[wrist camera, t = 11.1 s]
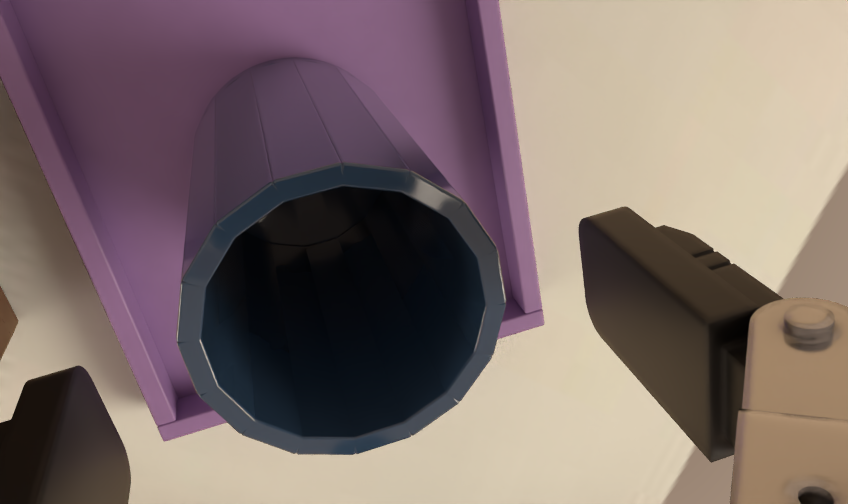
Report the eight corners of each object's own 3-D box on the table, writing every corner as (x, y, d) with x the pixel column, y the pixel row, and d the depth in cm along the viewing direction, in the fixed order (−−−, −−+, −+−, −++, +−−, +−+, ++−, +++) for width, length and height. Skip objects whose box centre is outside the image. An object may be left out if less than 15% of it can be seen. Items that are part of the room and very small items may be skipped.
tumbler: (163, 85, 20) (125, 219, 11) (371, 34, 21) (478, 125, 12) (229, 271, 22) (237, 494, 14) (412, 220, 23) (523, 401, 15)
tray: (-39, -65, 18) (-64, -62, 16) (453, -170, 20) (474, -176, 18) (166, 407, 24) (163, 442, 23) (525, 299, 26) (545, 325, 24)
